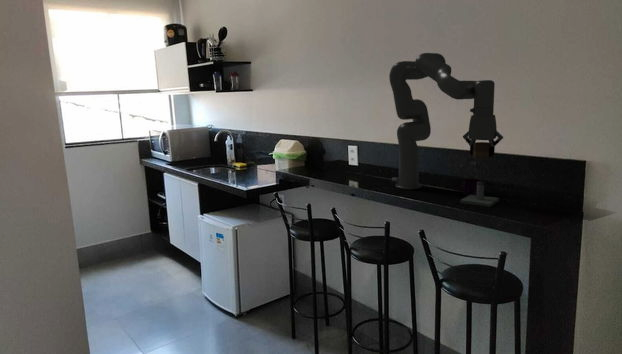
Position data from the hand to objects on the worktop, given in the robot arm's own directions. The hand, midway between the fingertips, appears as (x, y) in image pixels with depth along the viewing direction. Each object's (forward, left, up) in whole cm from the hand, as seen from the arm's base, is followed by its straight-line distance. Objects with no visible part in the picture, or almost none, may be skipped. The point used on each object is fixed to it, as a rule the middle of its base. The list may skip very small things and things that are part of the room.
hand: (481, 155), depth 180 cm
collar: (0, 0, -1) cm, 1 cm away
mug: (-9, +11, -20) cm, 24 cm away
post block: (0, 0, -20) cm, 20 cm away
